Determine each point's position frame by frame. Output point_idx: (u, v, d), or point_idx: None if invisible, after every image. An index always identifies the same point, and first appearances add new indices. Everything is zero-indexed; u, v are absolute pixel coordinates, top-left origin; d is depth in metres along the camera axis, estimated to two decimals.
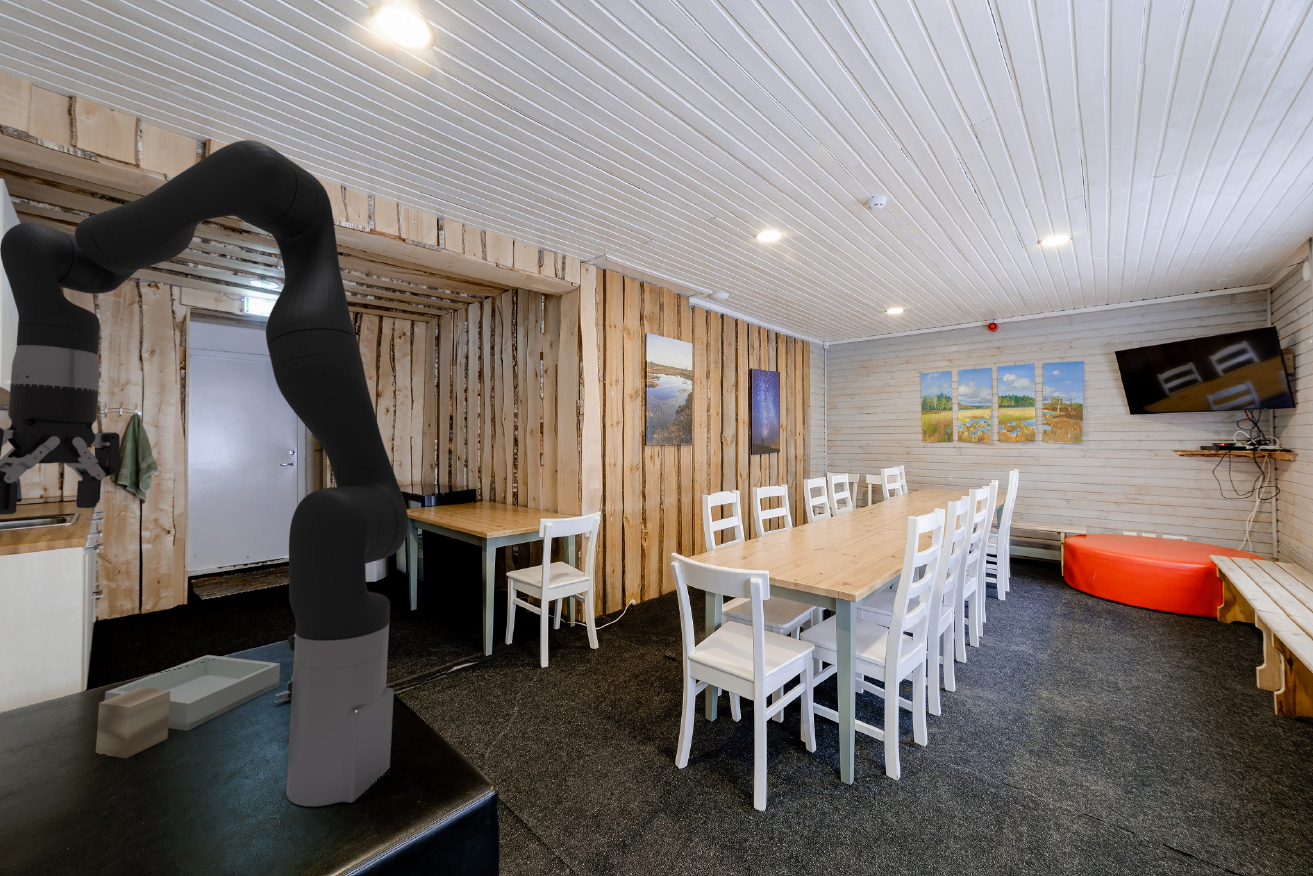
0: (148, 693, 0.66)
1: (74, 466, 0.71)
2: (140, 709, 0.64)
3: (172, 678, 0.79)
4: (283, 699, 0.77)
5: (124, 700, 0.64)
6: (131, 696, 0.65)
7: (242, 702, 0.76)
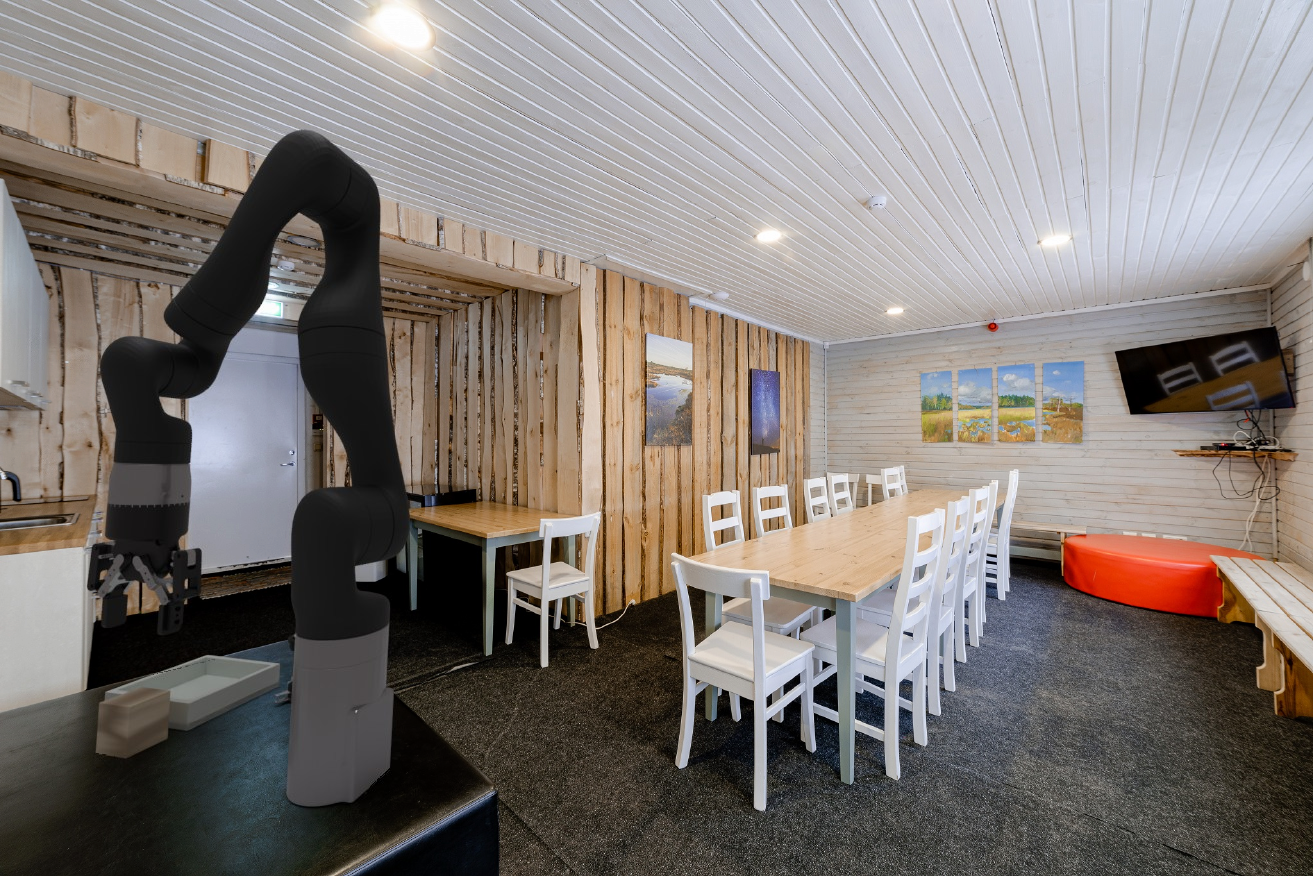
0: (148, 693, 0.66)
1: (118, 583, 0.66)
2: (140, 709, 0.64)
3: (172, 678, 0.79)
4: (283, 699, 0.77)
5: (124, 700, 0.64)
6: (131, 696, 0.65)
7: (242, 702, 0.76)
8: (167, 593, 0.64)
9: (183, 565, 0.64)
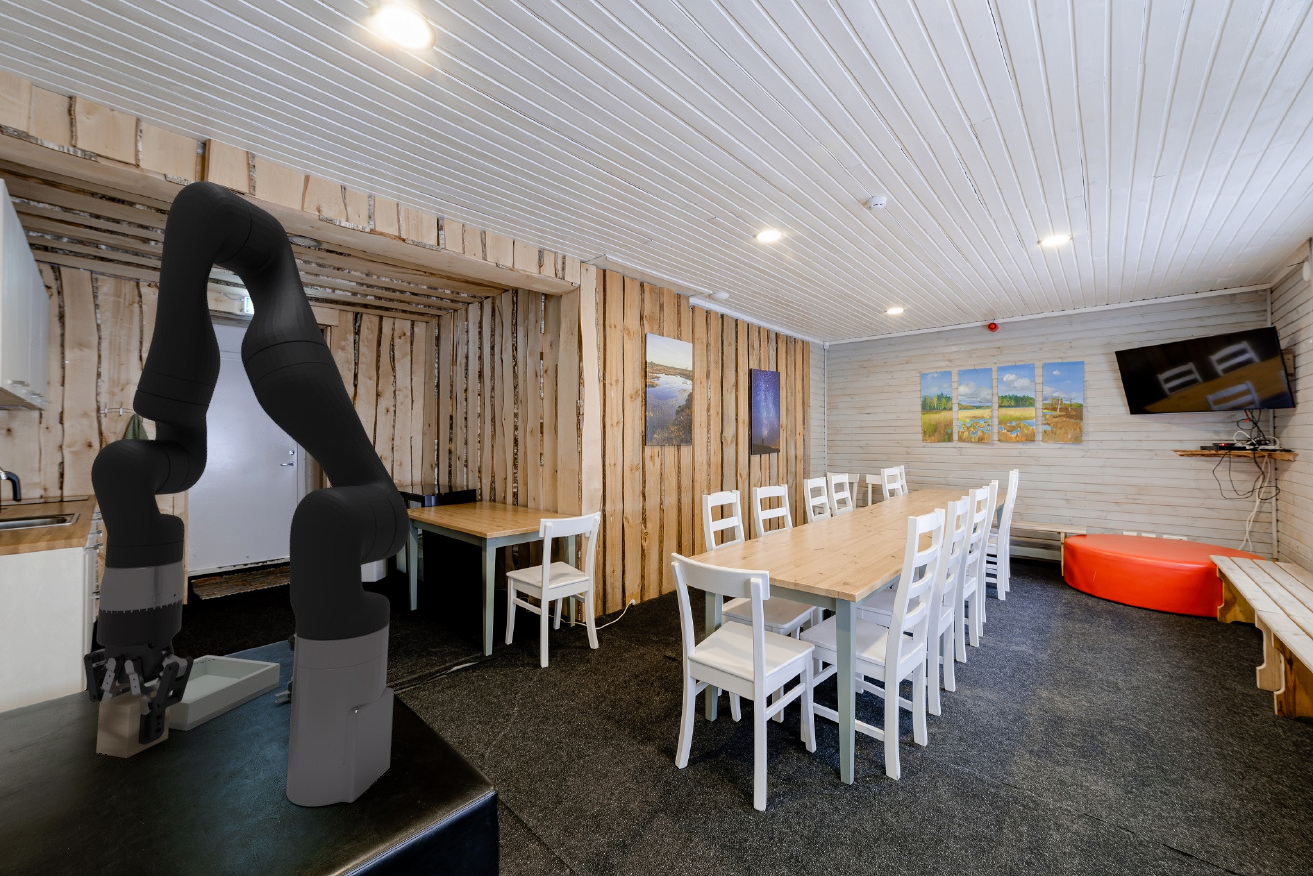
0: None
1: (118, 689, 0.65)
2: None
3: None
4: (283, 699, 0.77)
5: (124, 699, 0.64)
6: (132, 696, 0.65)
7: (242, 702, 0.76)
8: (149, 704, 0.64)
9: (172, 679, 0.63)
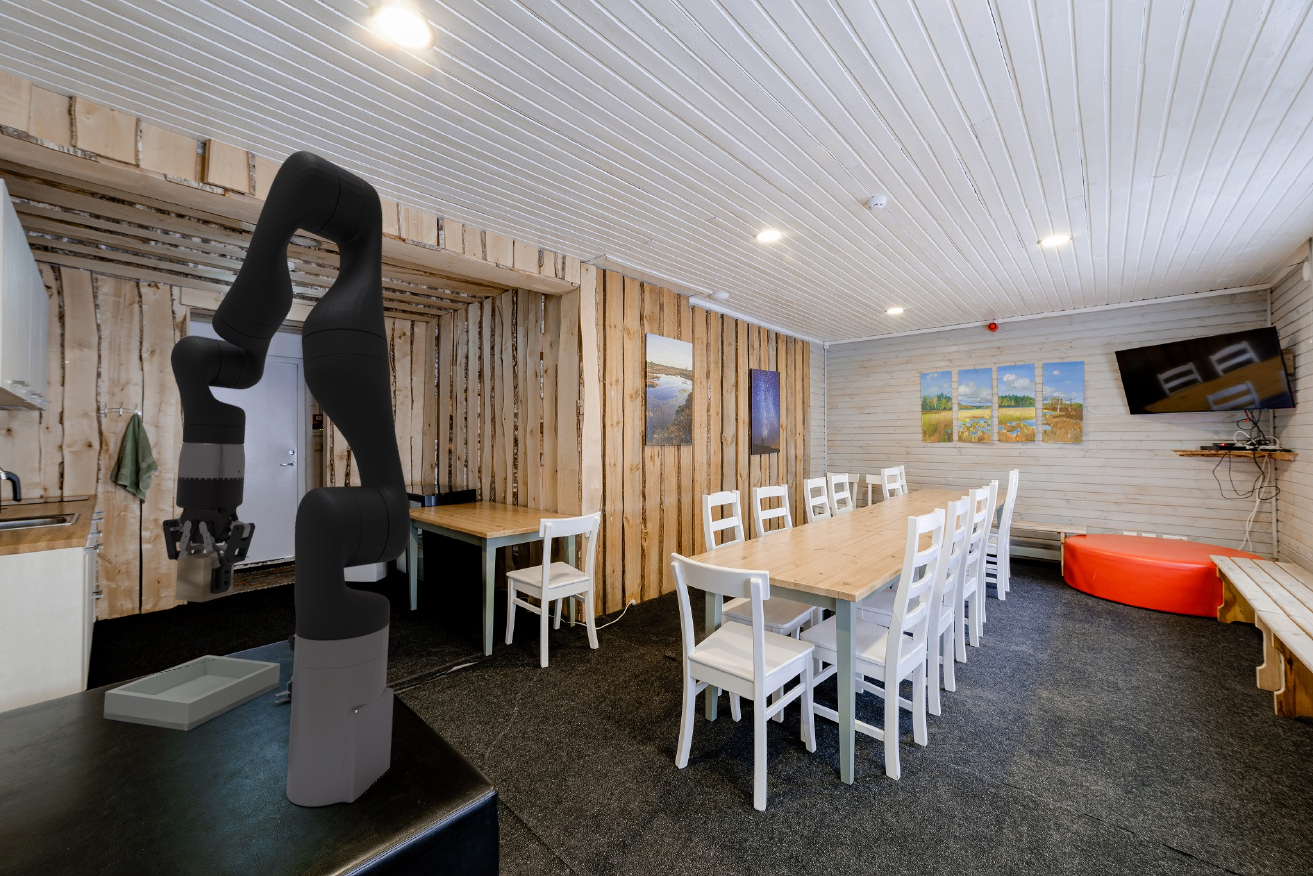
0: None
1: (192, 549, 0.77)
2: None
3: (172, 678, 0.79)
4: (283, 699, 0.77)
5: (198, 556, 0.76)
6: (203, 555, 0.77)
7: (242, 702, 0.76)
8: (219, 559, 0.76)
9: (238, 537, 0.75)
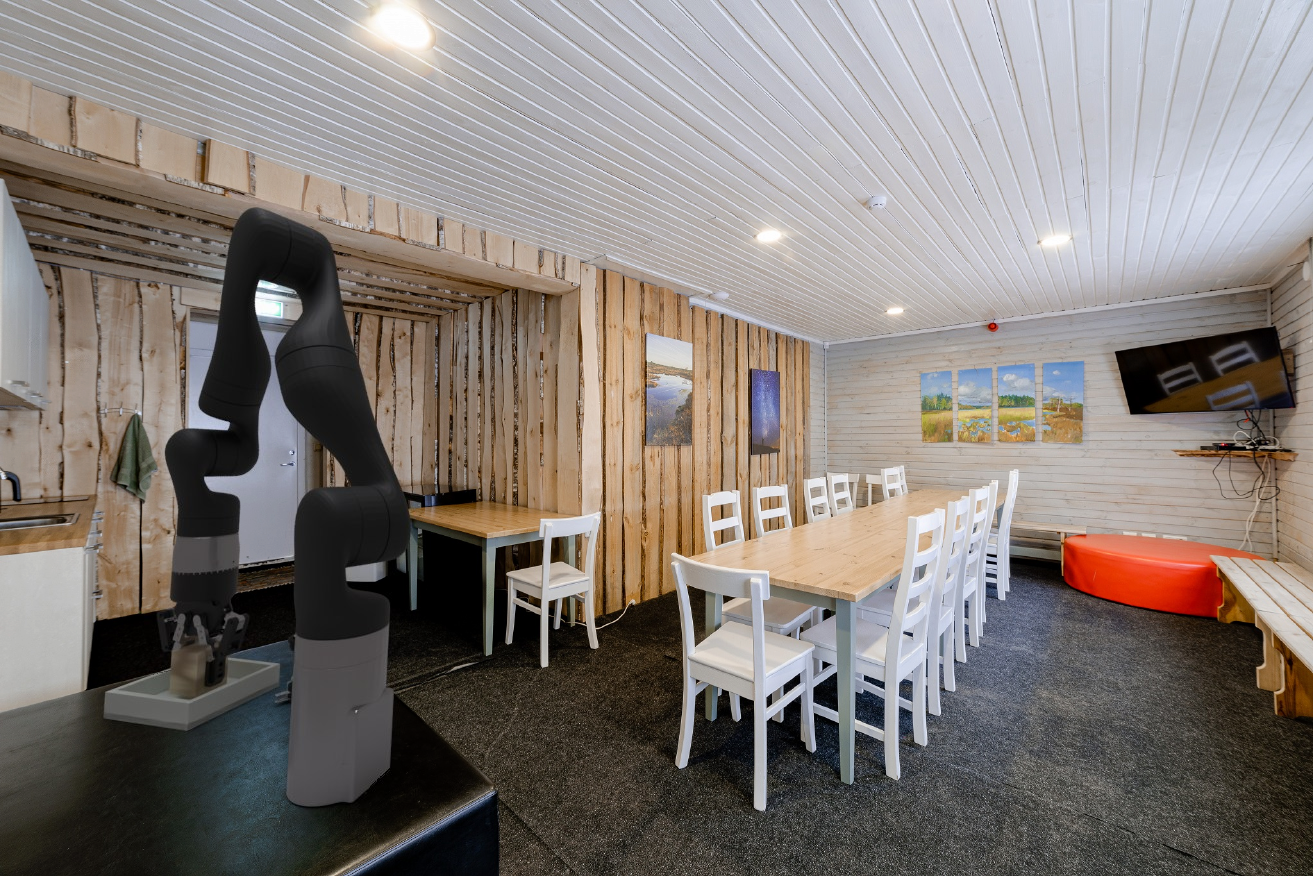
0: None
1: (186, 640, 0.76)
2: None
3: None
4: (283, 699, 0.77)
5: (192, 649, 0.76)
6: (197, 646, 0.77)
7: (242, 702, 0.76)
8: (213, 652, 0.75)
9: (233, 631, 0.75)
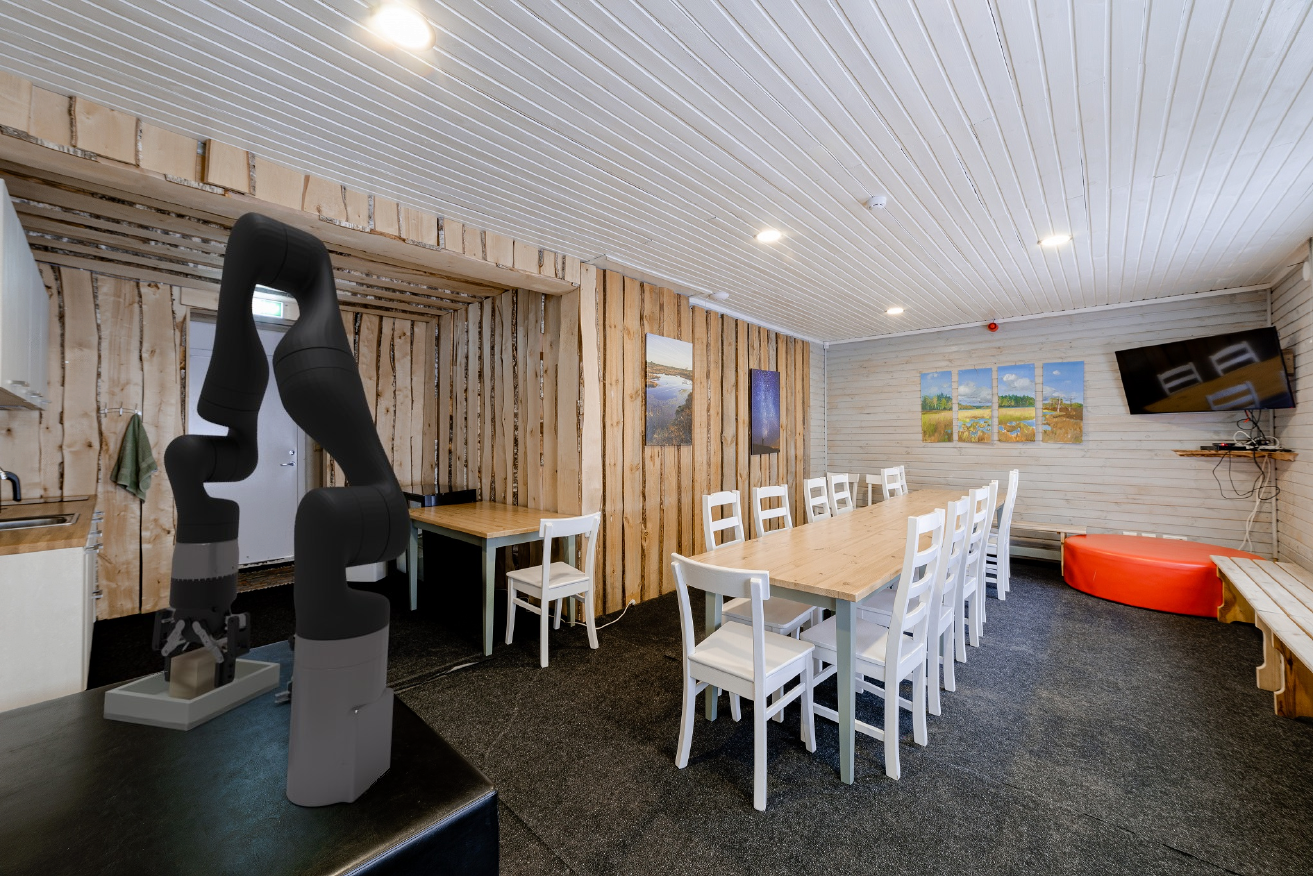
0: (211, 651, 0.78)
1: (178, 643, 0.77)
2: (206, 663, 0.75)
3: None
4: (283, 699, 0.77)
5: (191, 656, 0.76)
6: (197, 653, 0.77)
7: (242, 702, 0.76)
8: (222, 653, 0.75)
9: (236, 629, 0.75)
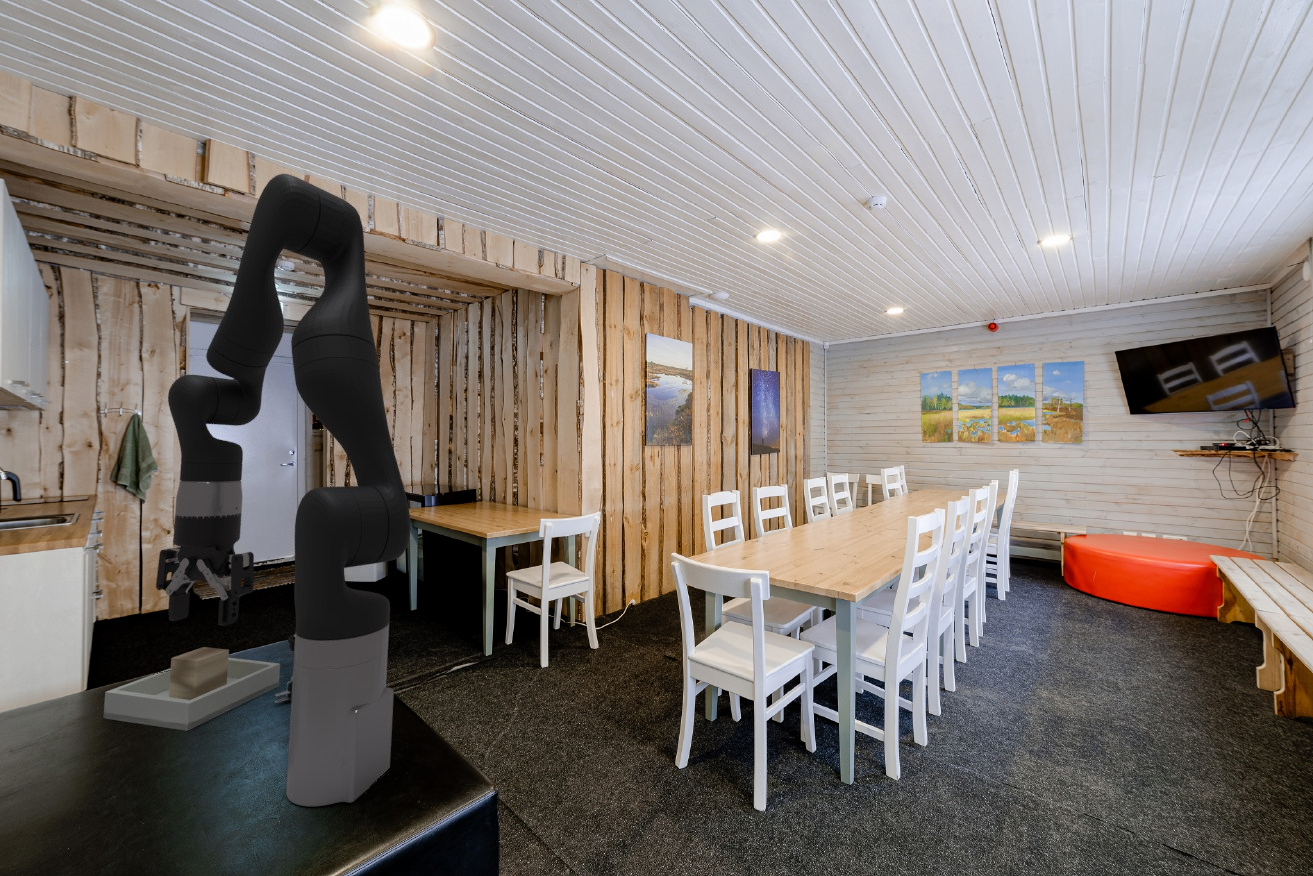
0: (211, 651, 0.78)
1: (182, 582, 0.77)
2: (206, 663, 0.75)
3: None
4: (283, 699, 0.77)
5: (191, 656, 0.76)
6: (197, 653, 0.77)
7: (242, 702, 0.76)
8: (226, 590, 0.76)
9: (239, 566, 0.76)
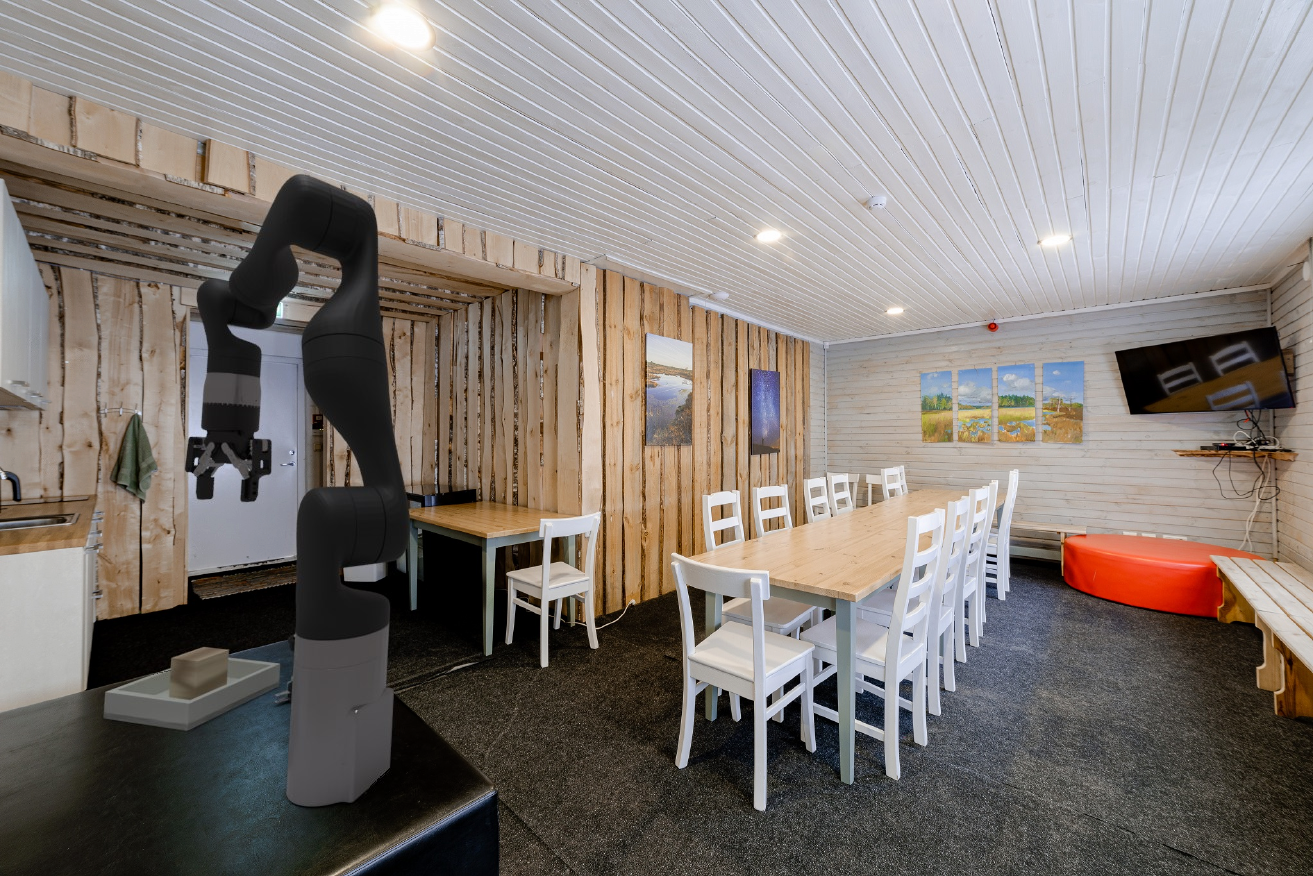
0: (211, 651, 0.78)
1: (208, 465, 0.87)
2: (206, 663, 0.75)
3: None
4: (283, 699, 0.77)
5: (191, 656, 0.76)
6: (197, 653, 0.77)
7: (242, 702, 0.76)
8: (247, 470, 0.85)
9: (259, 449, 0.85)
